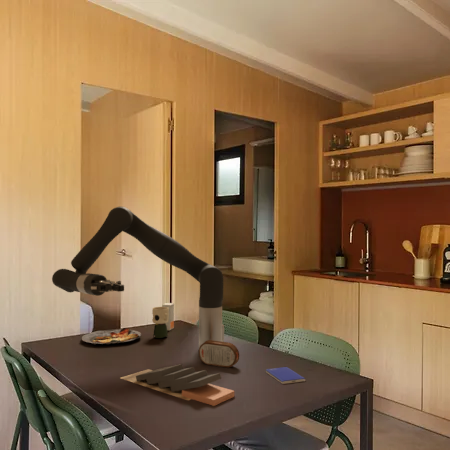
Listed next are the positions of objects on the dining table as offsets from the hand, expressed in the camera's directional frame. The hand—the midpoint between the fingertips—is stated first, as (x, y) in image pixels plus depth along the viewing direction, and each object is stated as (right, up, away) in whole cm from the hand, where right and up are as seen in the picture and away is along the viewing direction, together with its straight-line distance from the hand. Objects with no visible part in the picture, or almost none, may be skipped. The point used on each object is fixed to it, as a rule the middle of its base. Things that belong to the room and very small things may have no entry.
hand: (122, 288), depth 159 cm
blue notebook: (+54, -29, -5) cm, 62 cm away
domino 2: (+14, -26, -12) cm, 32 cm away
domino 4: (+22, -26, -19) cm, 39 cm away
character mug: (+6, -28, +48) cm, 56 cm away
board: (+17, -28, -15) cm, 36 cm away
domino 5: (+25, -26, -22) cm, 42 cm away
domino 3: (+18, -26, -16) cm, 35 cm away
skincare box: (+8, -28, +65) cm, 71 cm away
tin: (+32, -28, +7) cm, 44 cm away
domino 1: (+10, -26, -9) cm, 30 cm away
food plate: (-14, -28, +43) cm, 54 cm away
